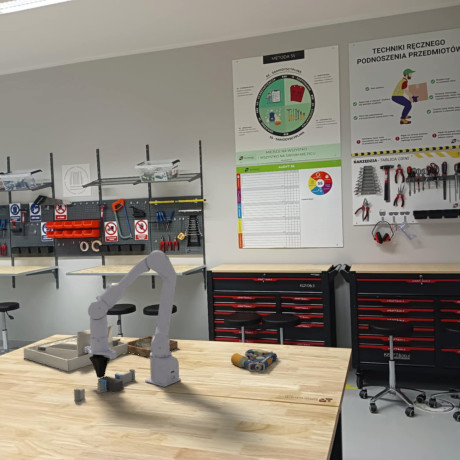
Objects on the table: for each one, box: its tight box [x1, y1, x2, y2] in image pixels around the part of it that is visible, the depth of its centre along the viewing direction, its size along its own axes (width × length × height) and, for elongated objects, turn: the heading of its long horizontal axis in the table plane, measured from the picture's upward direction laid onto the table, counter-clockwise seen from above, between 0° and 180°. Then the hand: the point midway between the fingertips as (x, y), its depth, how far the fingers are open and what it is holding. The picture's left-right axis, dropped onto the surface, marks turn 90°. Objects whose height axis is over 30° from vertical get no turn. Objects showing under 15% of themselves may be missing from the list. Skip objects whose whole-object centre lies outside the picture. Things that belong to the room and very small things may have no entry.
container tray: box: [23, 334, 128, 372], centre depth 186 cm, size 31×28×4 cm
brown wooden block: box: [126, 335, 179, 358], centre depth 191 cm, size 17×16×3 cm
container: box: [36, 324, 121, 360], centre depth 186 cm, size 22×25×12 cm
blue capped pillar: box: [73, 368, 136, 403], centre depth 145 cm, size 3×22×4 cm, turn 143°
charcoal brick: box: [97, 375, 124, 394], centre depth 146 cm, size 8×3×3 cm, turn 54°
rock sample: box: [134, 337, 152, 350], centre depth 187 cm, size 10×8×9 cm
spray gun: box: [230, 348, 278, 373], centre depth 169 cm, size 21×4×15 cm
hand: (100, 376), depth 150 cm, fingers closed
